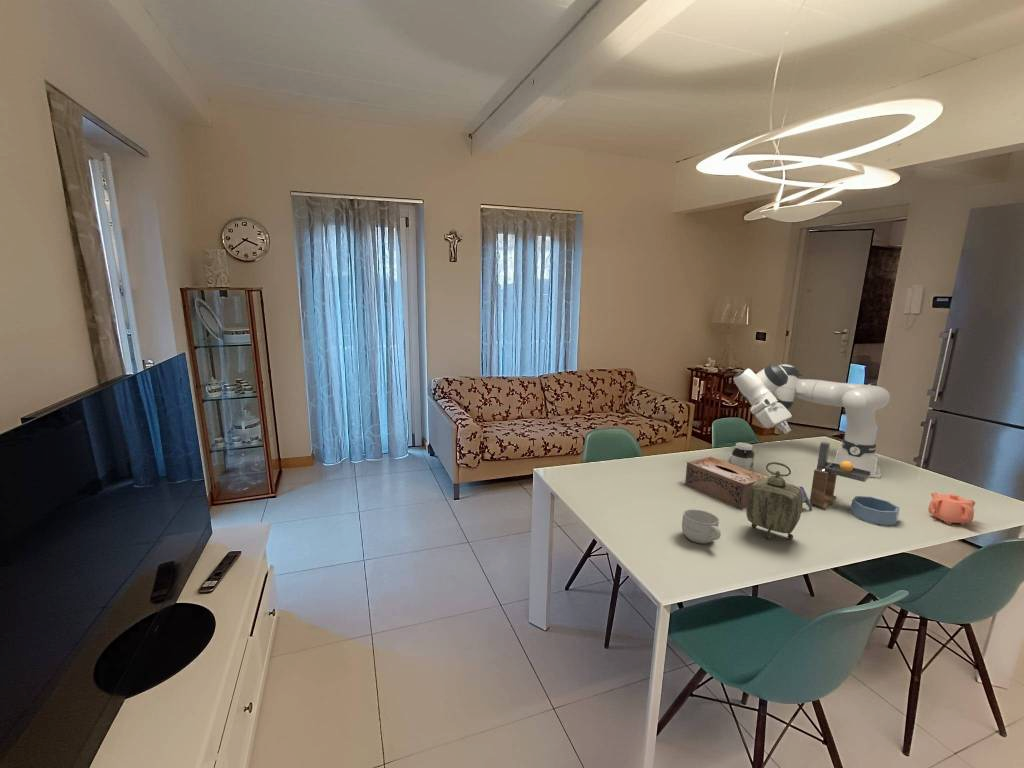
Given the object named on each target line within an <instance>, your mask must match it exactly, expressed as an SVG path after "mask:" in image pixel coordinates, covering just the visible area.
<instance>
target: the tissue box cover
mask: <svg viewBox="0 0 1024 768" xmlns="http://www.w3.org/2000/svg"><path fill="white" fill-rule="evenodd" d="M685 468H686V470H685V479H684V481H685V482H684V485H686V486H688V487H690V488H691V489H694V490H696V491H698V492H701V493H704V494H706V495H708V496H710V497H712V498H715V499H717V500H720V501H722V502H724V503H726V504H728V505H730V506H733V507H735V508H737V509H739V510H746V501H747V497H748V492H749V490H750V488H751V486H752V485H753V484H754V483H755V482H756V481H757V480H758V479H759V478H768V479H769V478H770V477H769V476H766V475H763V474H761V473H758V472H755V471H752V470H751V471H749V470H746V469H744V468H741V467H738V466H735V465H732V464H731V463H730V462H728V461H727V462H726V461H723V460H721V459H719V458H715V457H712V456H708V457H704V458H700V459H696V460H691V461H690V460H689V461H687V462H686V467H685Z"/></svg>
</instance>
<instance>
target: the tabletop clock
mask: <svg viewBox="0 0 1024 768" xmlns="http://www.w3.org/2000/svg"><path fill="white" fill-rule="evenodd" d="M771 465H777V466H782V467H784V468H786V469H787V470H788V473H785V474H784V473H783V474H782V473H780V471H779V470H776V471H775V472H774V471H771V470H770V469H769V468H768V467H769V466H771ZM765 469H766V471H767V472H769V473H770V474H771V476H770V477H769V479H768V478H759V479H758V480H757V481H756V482H755V483H754V484H753V485H752V486H751V488H750V490H749V492H748V497H747V501H746V508H745V512H746V518H747V521H748V522H750V523H751V527H752V528H755V529H756V528H758V527H759V528H763V529H765V530H767V533H766V534H765V539H767V540H770V539H771V538H772V536H771V531H772V532H777V533H781V534H787V538H788V539H789V540H793V538H794V535H793V534H792V533H793V531H794V530H795V528H796V526H797V524H798V523H799V521H800V519H801V515H802V511H803V505H804V503H803V495H802V491H801V489H800V487H798V486H797V485H794V484H792V483H789V482H786V480H785V479H784V478H783V477H788V476H790V474H792V471H791V468H790V466H788V465H786V464H784V463H781V462H777V461H771V462H769V463H767V464H766V465H765Z"/></svg>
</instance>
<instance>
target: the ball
mask: <svg viewBox="0 0 1024 768" xmlns="http://www.w3.org/2000/svg"><path fill="white" fill-rule="evenodd" d="M840 469H841V470H842V471H844V472H850V471H852V470H853V465H852V463H851V462H849V461H843V462H841V464H840Z"/></svg>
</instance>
